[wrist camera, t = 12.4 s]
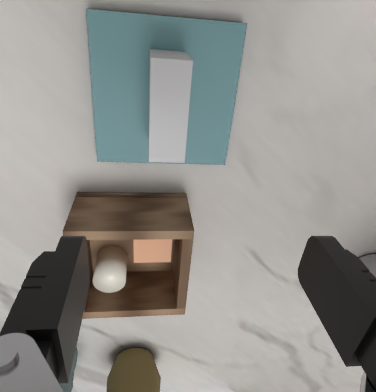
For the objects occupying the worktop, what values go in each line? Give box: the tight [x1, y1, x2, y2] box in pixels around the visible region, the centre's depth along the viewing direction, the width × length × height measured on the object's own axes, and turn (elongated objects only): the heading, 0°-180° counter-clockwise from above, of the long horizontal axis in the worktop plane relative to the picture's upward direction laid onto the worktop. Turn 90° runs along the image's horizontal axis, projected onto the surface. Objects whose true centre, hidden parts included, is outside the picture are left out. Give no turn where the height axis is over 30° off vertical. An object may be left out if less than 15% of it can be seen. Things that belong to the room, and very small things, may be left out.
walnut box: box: [63, 192, 194, 319], centre depth 35 cm, size 12×12×7 cm
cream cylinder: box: [92, 246, 128, 293], centre depth 36 cm, size 4×4×4 cm
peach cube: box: [133, 239, 172, 263], centre depth 35 cm, size 4×4×4 cm
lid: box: [86, 9, 247, 165], centre depth 27 cm, size 13×13×7 cm
